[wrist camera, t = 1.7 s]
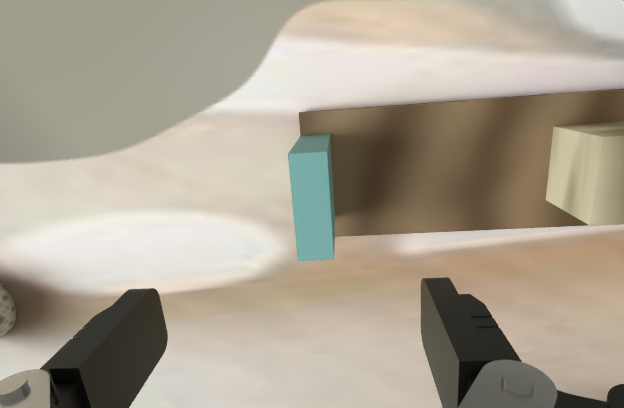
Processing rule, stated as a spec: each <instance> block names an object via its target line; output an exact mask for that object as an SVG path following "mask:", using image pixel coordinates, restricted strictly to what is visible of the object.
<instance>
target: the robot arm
mask: <svg viewBox="0 0 624 408" xmlns="http://www.w3.org/2000/svg"><path fill="white" fill-rule="evenodd" d="M421 334H422V341H423V346H424V350H425V353H426V356H427V359H428V362H429V365H430V368H431V372H432V375H433V378H434V381H435V384H436V387H437V390H438V394H439V397H440V400H441V403H442V406H443V408H624V384H620V385H617V386H614V387H613V388H611V389H610V391H609V392H608V396H607V401H606V402H604V401H599V400H595V399H590V398H585V397H580V396H576V395H571V394H567V393H564V392H561V391H558V390H557V389H556V387H555V385H554V383H553V382H552V380H551V379H550V378H549V377H548V376H547V375H545V374H544V373H543V372H541V371H540V370H538V369H537V368H535V367H533V366H531V365H528V364H526V363H522V361H521V360H520V358H519V357H518V355H517V354H516V352H515V351H514V349H513V347H512V346H511V344H510V343H509V341H508V340H507V338H506V337H505V335H504V334H503V332H502V331H501V329H500V328H499V327H498V324H497V323H496V321H495V320H494V318H492V315H491V314H490V312H489V311H488V309H487V307H486V306H485V304H484V303H482V302H481V301H479V300H478V299H476V298H475V297H473V296H472V295H471V294H458V292H457V291H456V289H455V287H454V285H453V284H452V282H451V280H450V278H423V279H422V281H421ZM167 339H168V335H167V329H166V324H165V319H164V315H163V310H162V306H161V301H160V297H159V294H158V292H157V290H156V289H153V288H151V289H130V290H128V291H126V292H125V293H124V294H123V295H122V296H121V297H120V298H119V299H118V300H117V301H116V302H115V303H114V304H113V305H112V306H110V307H109V308H107V309H105V310H104V311H102V312H101V313H99V314H97V315H96V316H94V317H93V318H92V319H91V320H90V321H89V322H88V323H87V324H86V325H85V326H84V327H83V330H80V331H79V332H78V333H77V334H76V335H75V336H73V339H70V340H69V341H68V342H67V343H66V344H65V345H64V346H63V347H62V348H61V349H60V350H59V351H58V352H57V353H56V354H55V355H54V356H53V357H52V358H51V359H50V360H49V361H48V362H47V363H46V364H45V365H43V366H42V367H41V368H40V369H39V370H38V369H36V370H27V371H23V372H20V373H17V374H14V375H12V376H9V377H7V378H5V379H3V380H1V381H0V408H129V407H130V405H131V404H132V402H133V401H134V399H135V397H136V396H137V394H138V393H139V391H140V390H141V388H142V387H143V385H144V383H145V382H146V380H147V379H148V377H149V376H150V374H151V373H152V371H153V369H154V368H155V366H156V365H157V363H158V362H159V360H160V358H161V357H162V355H163V354H164V352H165V349H166V346H167Z"/></svg>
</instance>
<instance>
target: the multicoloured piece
mask: <svg viewBox="0 0 624 408" xmlns="http://www.w3.org/2000/svg"><path fill="white" fill-rule="evenodd" d="M299 121H300V133H301V136H300V138H299V139H298V140H297V142H296V143H295V145H294V146H293V148H292V149H291V151H290V152H289V153H288V160H289V170H290V181H291V192H292V202H293V213H294V224H295V234H296V245H297V255H298V261H308V260H333V259H334V240H335V237H338V236H360V235H383V234H405V233H427V232H449V231H472V230H494V229H516V228H539V227H561V226H583V225H588V224H586V223H585V222H583V221H581V220H579V219H578V218H576V217H574V216H572V215H571V214H569V213H567V212H566V211H564V210H562V209H560V208H559V207H557V206H555V205H553V204H552V203H550V202H548V201H546V192H547V183H548V173H549V164H550V155H551V145H552V136H553V126H569V125H584V124H599V123H614V122H624V89H613V90H600V91H586V92H572V93H558V94H544V95H531V96H517V97H503V98H489V99H476V100H462V101H448V102H434V103H420V104H407V105H393V106H379V107H365V108H351V109H338V110H324V111H310V112H300V113H299Z"/></svg>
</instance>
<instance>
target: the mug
mask: <svg viewBox="0 0 624 408" xmlns="http://www.w3.org/2000/svg"><path fill="white" fill-rule="evenodd" d="M16 315H17V312H16V305H15V303H14V301H13V298H12V296H11V295H10V293H9V292H8V290H7V289H6V288H5V287H4V286H3V285H2V284H1V283H0V338H1V337H2V336H3V335H5V334H6V333H7V332H8V331H10V330H11V329H12V327H13V326H14V324H15V321H16Z"/></svg>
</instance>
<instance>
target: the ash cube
mask: <svg viewBox="0 0 624 408" xmlns="http://www.w3.org/2000/svg"><path fill="white" fill-rule="evenodd" d="M546 201H548V202H550V203H552V204H553V205H555V206H557V207H559V208H560V209H562V210H564V211H566V212H567V213H569V214H571V215H572V216H574V217H576V218H578V219H579V220H581V221H583V222H585V223H586V224H588V225H590V226H595V225H617V224H624V122H614V123H599V124H584V125H569V126H553V136H552V145H551V155H550V164H549V173H548V183H547V192H546Z"/></svg>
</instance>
